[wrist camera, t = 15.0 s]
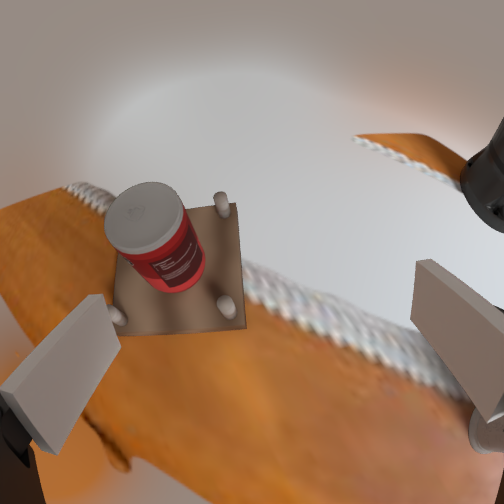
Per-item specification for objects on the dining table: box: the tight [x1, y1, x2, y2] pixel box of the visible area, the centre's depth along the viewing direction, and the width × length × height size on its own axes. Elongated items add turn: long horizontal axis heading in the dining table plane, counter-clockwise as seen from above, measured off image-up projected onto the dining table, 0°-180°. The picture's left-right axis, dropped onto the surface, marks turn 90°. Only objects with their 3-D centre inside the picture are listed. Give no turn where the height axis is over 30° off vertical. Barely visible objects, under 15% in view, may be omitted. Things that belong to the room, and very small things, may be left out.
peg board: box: [106, 192, 247, 336], centre depth 35 cm, size 16×16×6 cm
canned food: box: [104, 182, 205, 293], centre depth 31 cm, size 8×8×11 cm
